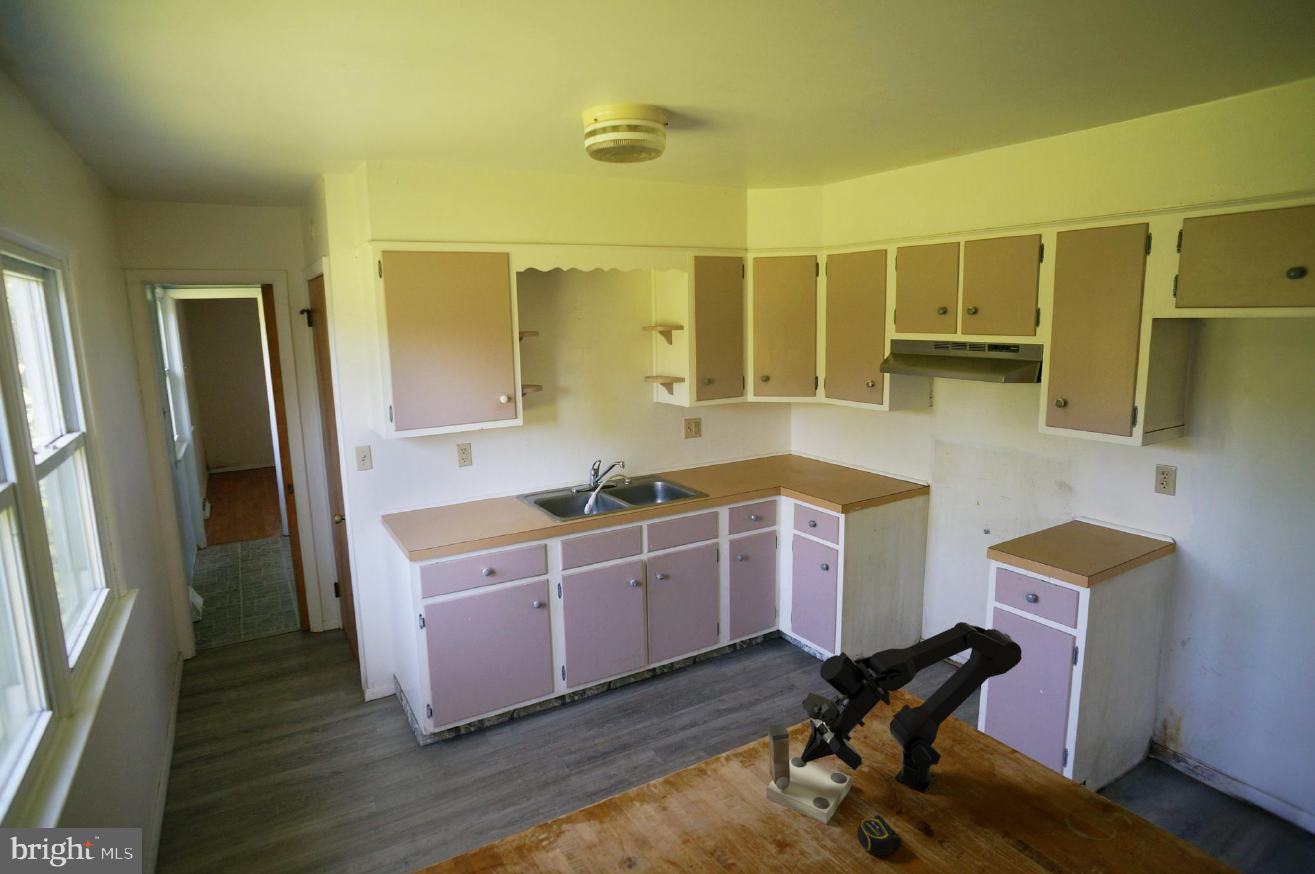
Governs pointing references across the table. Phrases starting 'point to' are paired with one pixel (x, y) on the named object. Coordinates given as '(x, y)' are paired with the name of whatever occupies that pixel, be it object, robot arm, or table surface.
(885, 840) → the tape measure
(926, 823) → the table surface
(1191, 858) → the table surface
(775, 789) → the stool seat
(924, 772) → the robot arm
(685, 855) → the table surface
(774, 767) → the folding leg
